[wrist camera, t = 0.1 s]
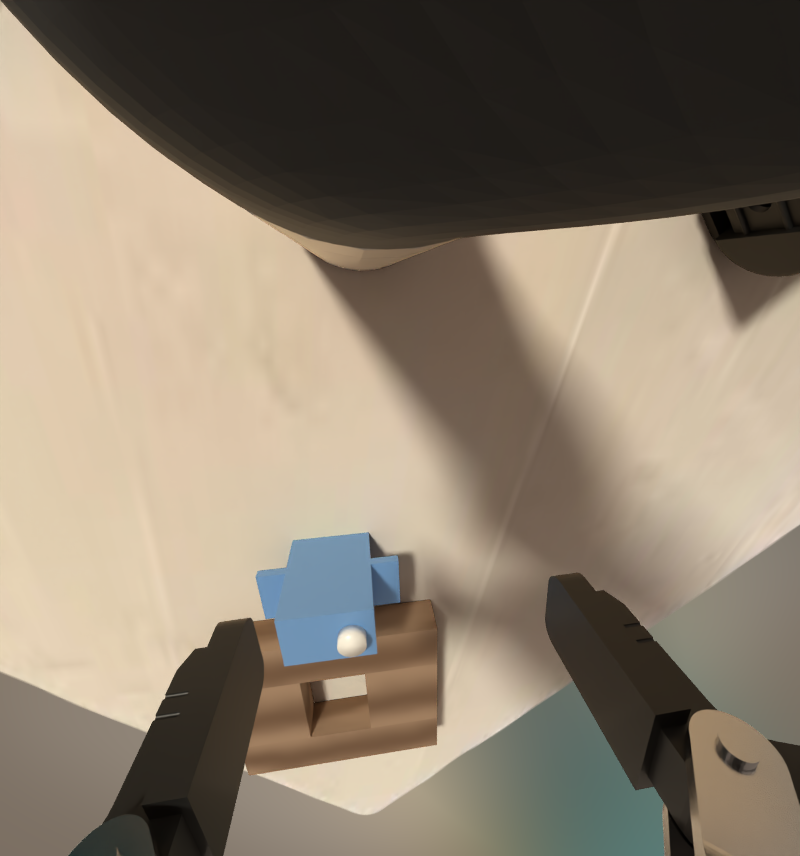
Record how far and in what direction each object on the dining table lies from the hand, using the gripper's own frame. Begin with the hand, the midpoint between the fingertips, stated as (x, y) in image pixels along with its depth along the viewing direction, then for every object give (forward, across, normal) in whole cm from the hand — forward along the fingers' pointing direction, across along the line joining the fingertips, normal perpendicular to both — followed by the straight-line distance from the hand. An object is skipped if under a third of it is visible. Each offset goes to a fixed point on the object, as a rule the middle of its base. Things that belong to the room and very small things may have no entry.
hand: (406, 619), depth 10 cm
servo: (+18, +4, +12) cm, 22 cm away
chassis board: (+18, +6, +26) cm, 32 cm away
